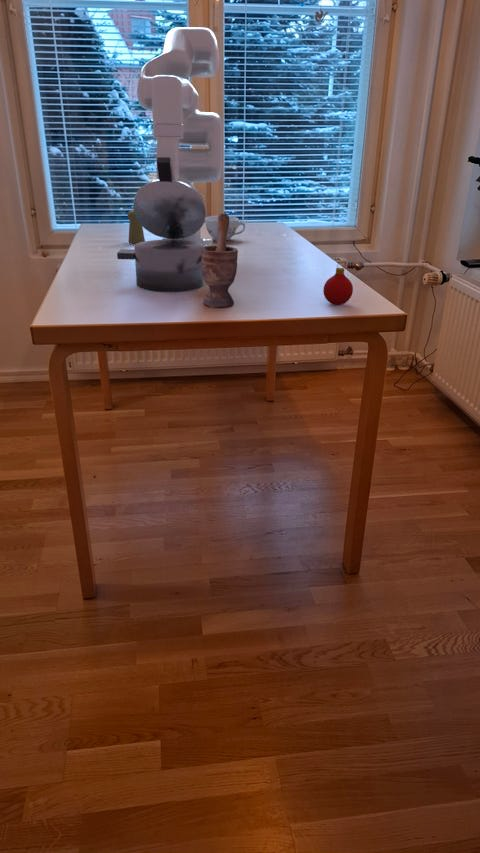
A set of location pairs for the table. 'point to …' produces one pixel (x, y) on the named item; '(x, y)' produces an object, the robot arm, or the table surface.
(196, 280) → the pot
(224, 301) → the mortar and pestle
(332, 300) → the christmas ornament
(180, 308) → the table surface
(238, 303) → the table surface
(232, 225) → the teacup
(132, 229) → the olive green tall piece
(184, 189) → the lid
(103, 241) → the table surface
